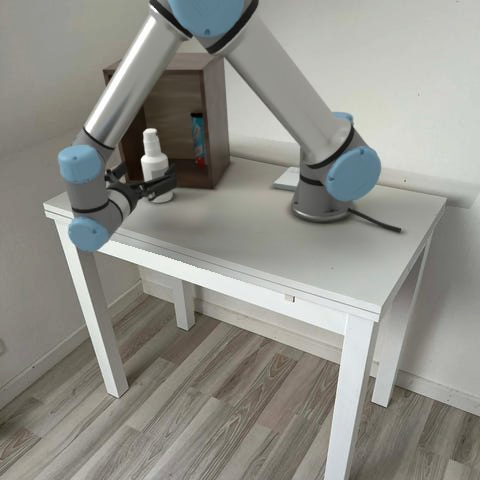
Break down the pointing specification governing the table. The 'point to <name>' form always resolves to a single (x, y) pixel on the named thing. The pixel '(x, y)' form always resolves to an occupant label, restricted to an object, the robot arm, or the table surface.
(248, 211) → the table surface
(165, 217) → the table surface
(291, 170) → the hard drive
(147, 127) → the cupboard
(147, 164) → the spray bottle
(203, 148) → the beverage can
